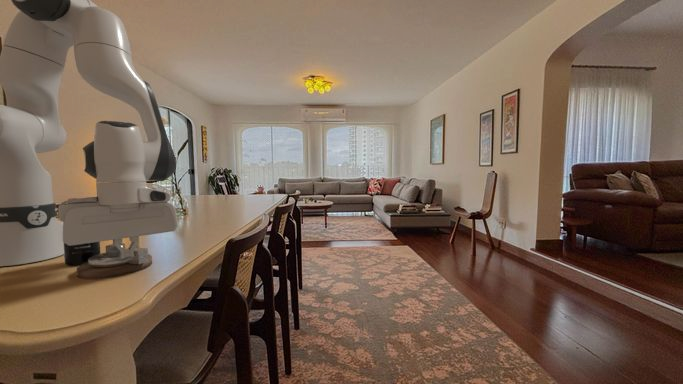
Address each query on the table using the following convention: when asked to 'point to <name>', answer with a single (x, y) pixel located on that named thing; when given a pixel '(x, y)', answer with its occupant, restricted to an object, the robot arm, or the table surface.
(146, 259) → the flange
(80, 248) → the supplement bottle
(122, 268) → the walnut base
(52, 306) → the table surface
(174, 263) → the table surface
